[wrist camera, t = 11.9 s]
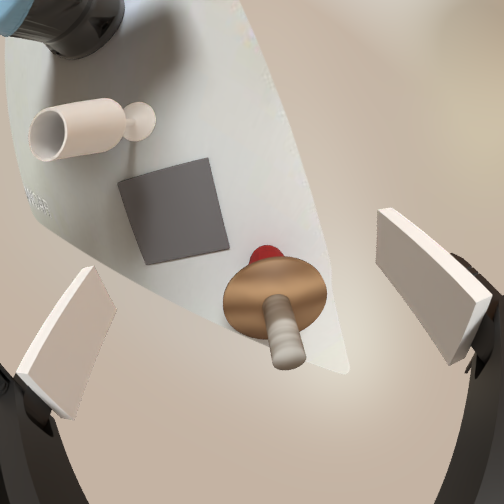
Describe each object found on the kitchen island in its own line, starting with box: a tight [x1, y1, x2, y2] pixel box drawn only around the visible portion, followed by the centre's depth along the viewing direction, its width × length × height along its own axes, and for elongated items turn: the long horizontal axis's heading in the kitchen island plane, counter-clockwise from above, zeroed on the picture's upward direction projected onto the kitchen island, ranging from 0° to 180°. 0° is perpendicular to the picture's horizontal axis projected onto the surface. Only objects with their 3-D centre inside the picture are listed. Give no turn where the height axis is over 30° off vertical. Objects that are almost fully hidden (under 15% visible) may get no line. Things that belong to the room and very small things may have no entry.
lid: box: [223, 256, 327, 370], centre depth 35 cm, size 15×15×11 cm
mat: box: [117, 158, 230, 265], centre depth 45 cm, size 16×16×1 cm
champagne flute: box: [28, 98, 156, 162], centre depth 27 cm, size 7×7×24 cm
